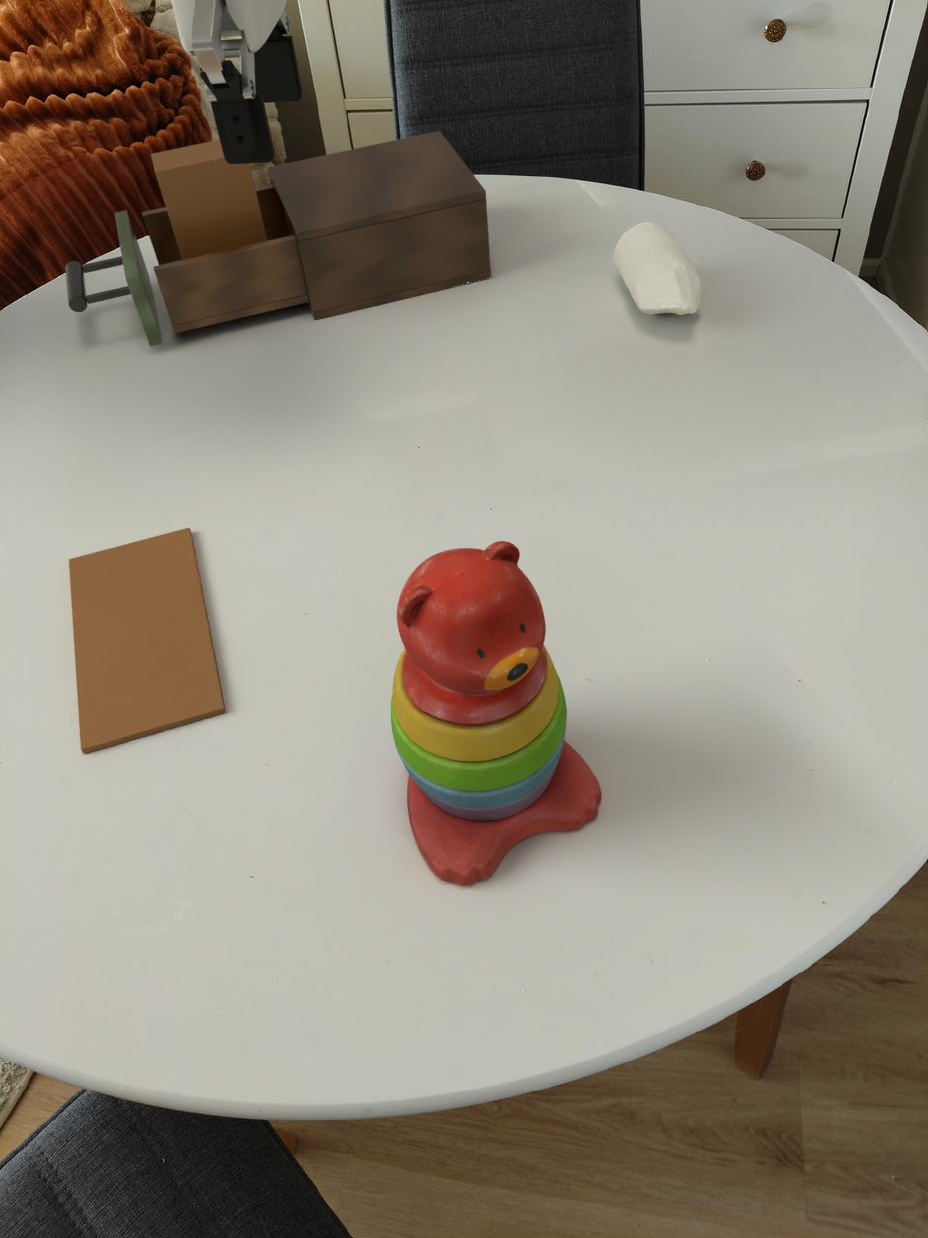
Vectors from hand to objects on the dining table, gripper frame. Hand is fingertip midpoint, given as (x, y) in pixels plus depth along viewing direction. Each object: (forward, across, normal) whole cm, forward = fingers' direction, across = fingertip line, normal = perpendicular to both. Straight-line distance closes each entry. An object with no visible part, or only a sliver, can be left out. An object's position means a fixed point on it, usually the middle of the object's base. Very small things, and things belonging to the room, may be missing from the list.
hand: (266, 129), depth 67 cm
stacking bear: (+23, +37, +16) cm, 46 cm away
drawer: (+22, -17, -15) cm, 32 cm away
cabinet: (+23, -24, +2) cm, 33 cm away
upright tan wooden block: (+21, -18, -12) cm, 30 cm away
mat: (+23, +25, -9) cm, 35 cm away
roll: (+23, -14, +28) cm, 39 cm away
